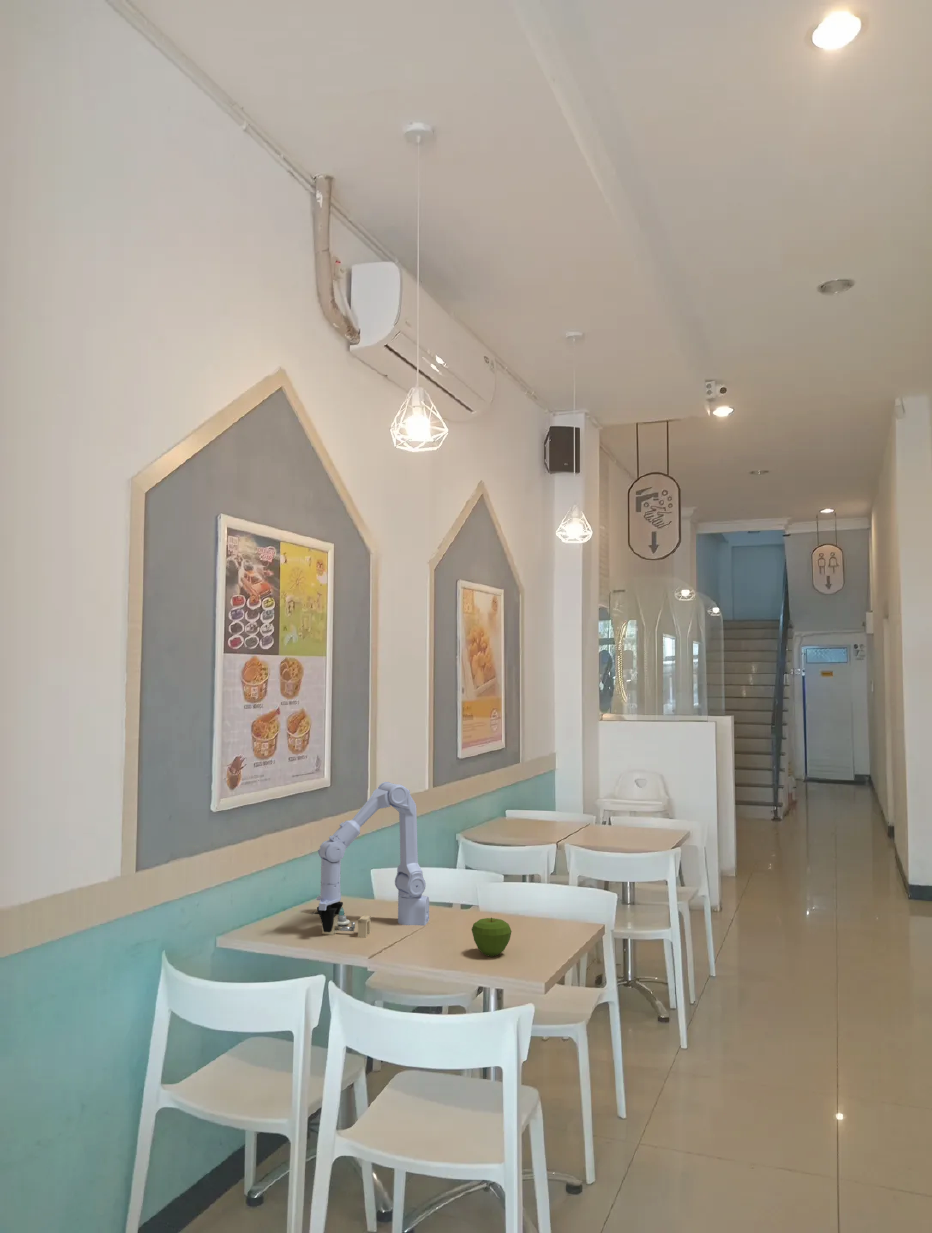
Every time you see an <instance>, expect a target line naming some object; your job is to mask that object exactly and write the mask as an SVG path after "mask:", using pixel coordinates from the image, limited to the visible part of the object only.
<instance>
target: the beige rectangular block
mask: <svg viewBox="0 0 932 1233" xmlns="http://www.w3.org/2000/svg"><path fill="white" fill-rule="evenodd" d="M338 916H339V915H338V914H335V915H334V918H333V925H332V930H331V932H324V931H323V926H322V925H321V926H322V927H321V928H322V929H321V931H322V932H321V935H324V936H325V935H327V936H328V935H329V936H335V935H336V934H337V933H338V931H341V932H354V931H355V928H356V922H355V921H350V924H351V925H350V926H339V925H338Z"/></svg>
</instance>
